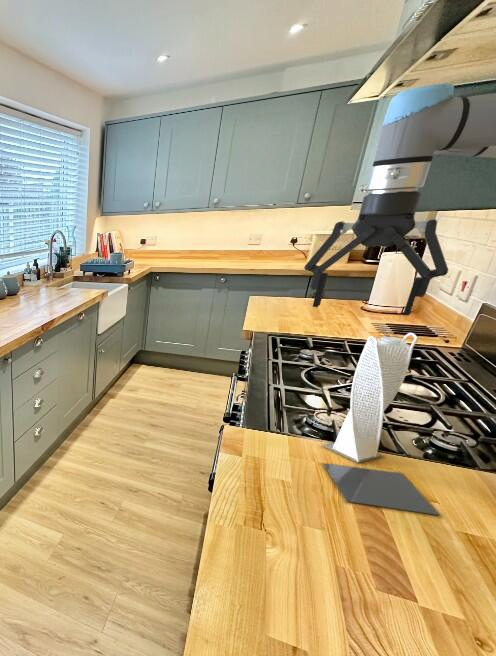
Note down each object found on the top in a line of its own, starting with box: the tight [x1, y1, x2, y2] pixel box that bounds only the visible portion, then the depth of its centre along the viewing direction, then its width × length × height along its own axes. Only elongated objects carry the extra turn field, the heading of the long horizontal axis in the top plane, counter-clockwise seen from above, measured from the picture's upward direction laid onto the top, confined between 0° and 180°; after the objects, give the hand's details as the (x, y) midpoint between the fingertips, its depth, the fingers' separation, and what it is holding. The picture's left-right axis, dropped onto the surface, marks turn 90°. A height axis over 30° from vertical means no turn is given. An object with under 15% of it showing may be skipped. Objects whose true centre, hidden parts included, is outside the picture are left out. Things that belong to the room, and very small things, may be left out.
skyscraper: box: [324, 332, 419, 464], centre depth 86 cm, size 8×8×28 cm
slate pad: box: [323, 463, 440, 517], centre depth 81 cm, size 13×13×1 cm
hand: (358, 309), depth 82 cm, fingers open, 13 cm apart
